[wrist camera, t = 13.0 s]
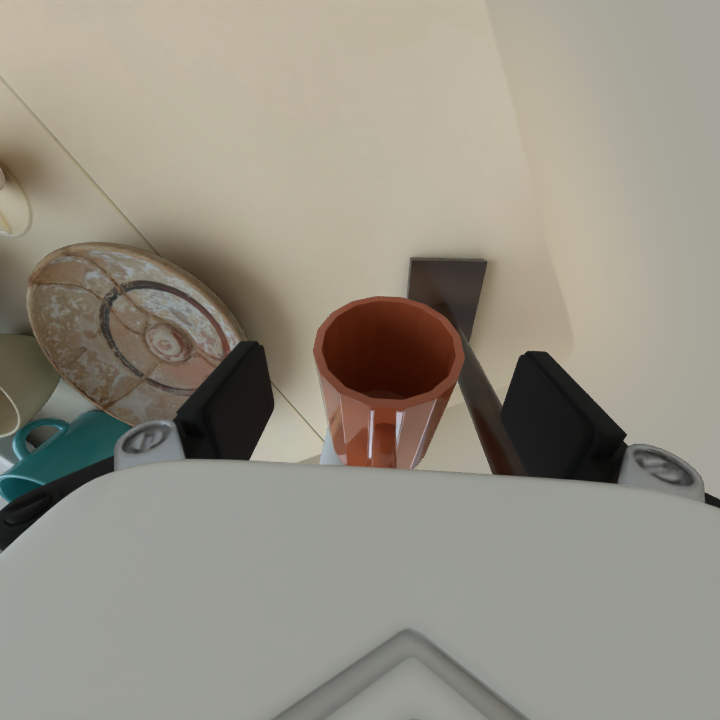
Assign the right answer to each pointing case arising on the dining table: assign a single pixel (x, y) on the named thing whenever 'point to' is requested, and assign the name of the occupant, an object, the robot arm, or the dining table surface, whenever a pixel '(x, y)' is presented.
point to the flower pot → (23, 381)
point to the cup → (60, 451)
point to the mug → (386, 379)
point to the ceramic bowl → (128, 328)
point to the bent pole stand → (466, 348)
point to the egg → (2, 179)
